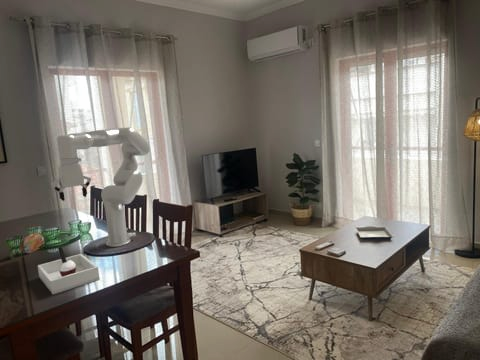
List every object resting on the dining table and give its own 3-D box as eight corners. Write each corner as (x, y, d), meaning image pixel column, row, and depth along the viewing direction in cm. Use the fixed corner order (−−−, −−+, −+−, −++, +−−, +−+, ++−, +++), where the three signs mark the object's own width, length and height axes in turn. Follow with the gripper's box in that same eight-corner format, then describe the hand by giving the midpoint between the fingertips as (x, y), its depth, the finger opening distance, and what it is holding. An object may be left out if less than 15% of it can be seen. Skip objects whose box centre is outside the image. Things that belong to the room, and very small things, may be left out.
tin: (25, 255, 182) (22, 239, 181) (20, 255, 183) (17, 239, 181) (46, 245, 197) (44, 230, 195) (41, 245, 197) (39, 230, 196)
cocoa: (77, 279, 149) (74, 252, 147) (60, 282, 146) (57, 254, 144) (75, 270, 157) (73, 244, 155) (59, 273, 155) (57, 246, 152)
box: (82, 264, 166) (81, 253, 165) (99, 279, 149) (98, 266, 148) (39, 277, 154) (37, 265, 153) (52, 294, 138) (50, 281, 137)
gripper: (85, 159, 172) (90, 194, 175) (46, 163, 161) (51, 200, 164) (91, 160, 167) (95, 196, 170) (50, 164, 156) (56, 203, 159)
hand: (74, 198), depth 167 cm, fingers open, 9 cm apart
